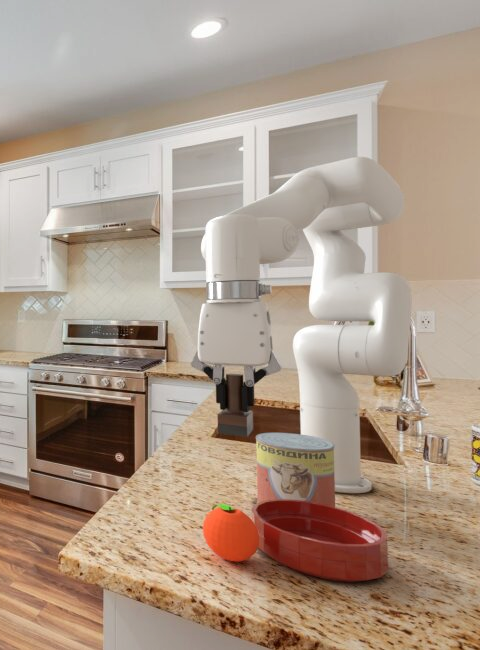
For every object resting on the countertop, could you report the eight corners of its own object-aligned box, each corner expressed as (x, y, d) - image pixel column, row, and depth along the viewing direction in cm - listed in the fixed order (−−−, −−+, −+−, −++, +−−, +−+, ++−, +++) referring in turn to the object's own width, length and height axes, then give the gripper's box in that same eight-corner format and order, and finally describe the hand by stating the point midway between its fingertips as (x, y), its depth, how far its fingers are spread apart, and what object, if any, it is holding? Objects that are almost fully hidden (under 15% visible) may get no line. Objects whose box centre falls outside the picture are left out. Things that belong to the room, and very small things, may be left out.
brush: (225, 426, 79) (224, 371, 79) (253, 429, 76) (251, 373, 76) (217, 433, 74) (216, 375, 74) (247, 437, 71) (245, 377, 72)
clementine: (189, 544, 70) (188, 496, 71) (234, 541, 71) (233, 494, 71) (222, 573, 62) (221, 518, 63) (272, 570, 63) (271, 516, 63)
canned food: (253, 512, 81) (251, 442, 81) (260, 492, 90) (259, 429, 90) (336, 530, 74) (334, 453, 74) (335, 506, 83) (334, 438, 83)
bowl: (261, 522, 77) (261, 491, 77) (385, 551, 68) (385, 516, 68) (243, 560, 66) (242, 523, 66) (390, 601, 56) (389, 558, 56)
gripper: (295, 292, 73) (298, 411, 73) (184, 296, 83) (187, 401, 83) (291, 291, 68) (294, 420, 67) (172, 295, 78) (175, 407, 77)
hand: (235, 408), depth 75 cm, fingers closed on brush, 2 cm apart
